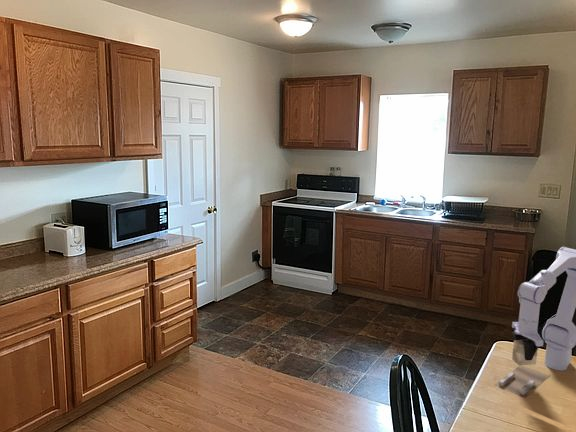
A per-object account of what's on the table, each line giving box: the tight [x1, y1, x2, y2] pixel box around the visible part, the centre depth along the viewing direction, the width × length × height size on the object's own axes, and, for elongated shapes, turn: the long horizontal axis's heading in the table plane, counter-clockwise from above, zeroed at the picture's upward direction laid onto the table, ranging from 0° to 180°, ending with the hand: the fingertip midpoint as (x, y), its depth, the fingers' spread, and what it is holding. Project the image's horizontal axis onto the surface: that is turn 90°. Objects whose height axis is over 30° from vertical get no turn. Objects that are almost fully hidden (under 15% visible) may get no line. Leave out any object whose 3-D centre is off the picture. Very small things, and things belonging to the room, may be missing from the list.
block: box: [511, 339, 539, 366], centre depth 159 cm, size 4×6×7 cm, turn 95°
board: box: [494, 365, 550, 399], centre depth 161 cm, size 20×10×3 cm, turn 131°
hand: (524, 356), depth 159 cm, fingers closed on block, 4 cm apart
